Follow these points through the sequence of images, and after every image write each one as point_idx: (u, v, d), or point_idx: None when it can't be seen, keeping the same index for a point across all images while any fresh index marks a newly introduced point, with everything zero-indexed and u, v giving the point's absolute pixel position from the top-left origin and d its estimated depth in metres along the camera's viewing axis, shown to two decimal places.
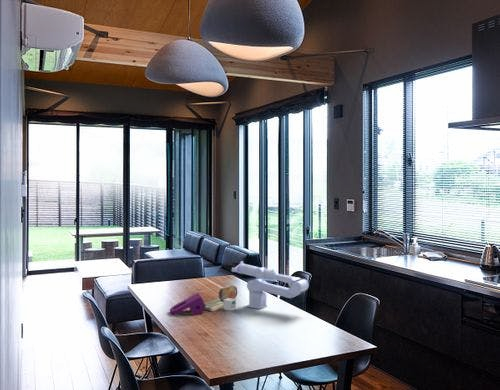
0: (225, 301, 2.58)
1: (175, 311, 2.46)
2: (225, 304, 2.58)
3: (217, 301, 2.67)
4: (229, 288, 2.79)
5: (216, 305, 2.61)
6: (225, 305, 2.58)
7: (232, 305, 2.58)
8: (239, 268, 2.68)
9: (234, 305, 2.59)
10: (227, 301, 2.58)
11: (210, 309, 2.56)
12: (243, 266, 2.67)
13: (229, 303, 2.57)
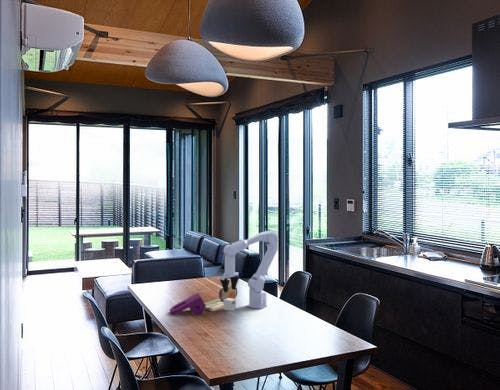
0: (225, 301, 2.58)
1: (175, 311, 2.46)
2: (225, 304, 2.58)
3: (217, 301, 2.67)
4: (229, 288, 2.79)
5: (216, 305, 2.61)
6: (225, 305, 2.58)
7: (232, 305, 2.58)
8: (226, 274, 2.57)
9: (234, 305, 2.59)
10: (227, 301, 2.58)
11: (210, 309, 2.56)
12: None
13: (229, 303, 2.57)
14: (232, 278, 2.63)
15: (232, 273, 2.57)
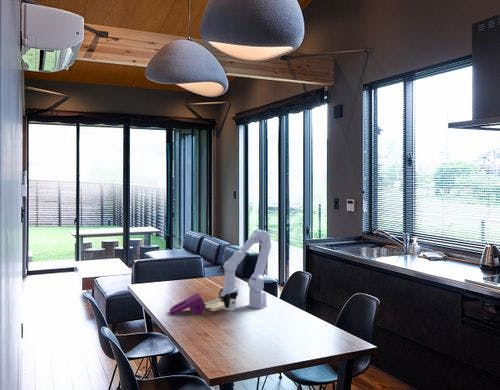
0: None
1: (175, 311, 2.46)
2: None
3: (217, 301, 2.67)
4: None
5: (216, 305, 2.61)
6: None
7: (232, 305, 2.58)
8: (226, 290, 2.57)
9: (234, 305, 2.59)
10: None
11: (210, 309, 2.56)
12: None
13: (229, 303, 2.57)
14: (231, 294, 2.62)
15: (232, 289, 2.57)
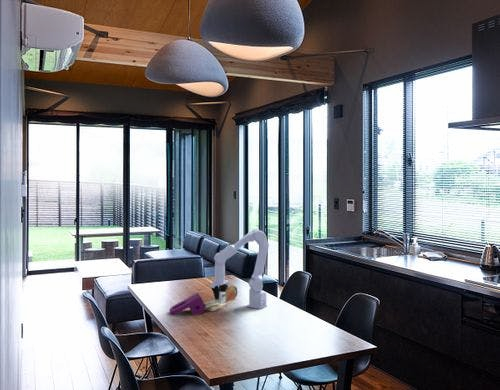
0: None
1: (175, 311, 2.46)
2: None
3: None
4: (229, 288, 2.79)
5: (216, 305, 2.61)
6: None
7: (222, 298, 2.59)
8: (216, 282, 2.58)
9: (224, 298, 2.60)
10: None
11: (210, 309, 2.56)
12: None
13: (219, 296, 2.58)
14: (221, 286, 2.63)
15: (222, 281, 2.58)
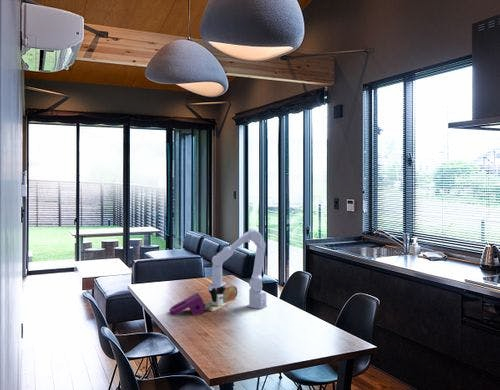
0: None
1: (175, 311, 2.46)
2: None
3: None
4: (229, 288, 2.79)
5: None
6: None
7: (219, 300, 2.60)
8: (213, 284, 2.59)
9: (222, 300, 2.62)
10: None
11: (210, 309, 2.56)
12: (212, 280, 2.61)
13: None
14: (218, 289, 2.64)
15: (219, 283, 2.59)
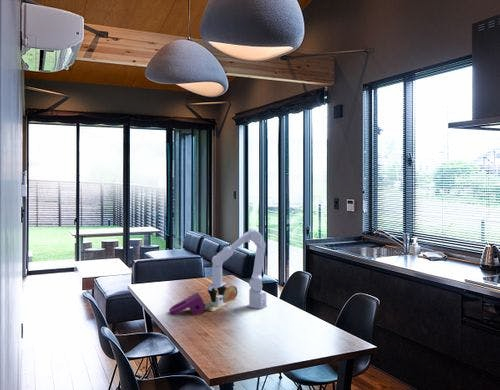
0: None
1: (175, 311, 2.46)
2: None
3: None
4: (229, 288, 2.79)
5: None
6: None
7: (219, 301, 2.60)
8: (213, 284, 2.59)
9: (221, 301, 2.62)
10: None
11: (210, 309, 2.56)
12: (212, 280, 2.61)
13: (216, 299, 2.59)
14: (219, 288, 2.65)
15: (219, 283, 2.59)
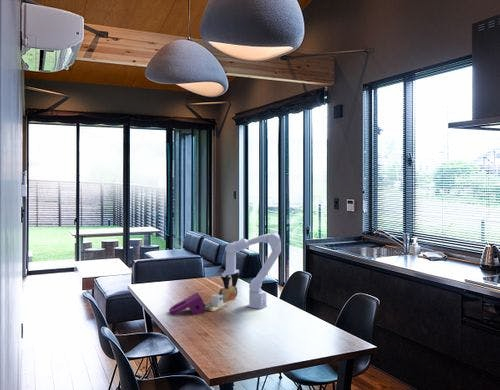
0: (213, 297, 2.61)
1: (175, 311, 2.46)
2: (213, 300, 2.61)
3: None
4: (229, 288, 2.79)
5: None
6: (212, 301, 2.61)
7: (219, 301, 2.60)
8: (227, 271, 2.65)
9: (221, 301, 2.62)
10: (214, 297, 2.60)
11: (210, 309, 2.56)
12: (226, 267, 2.66)
13: (216, 299, 2.59)
14: (233, 275, 2.71)
15: (233, 270, 2.65)
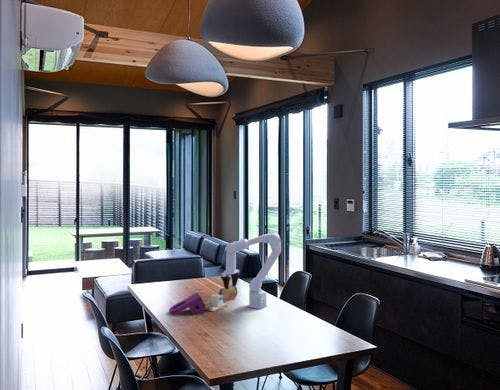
0: (213, 297, 2.61)
1: (175, 311, 2.46)
2: (213, 300, 2.61)
3: None
4: (229, 288, 2.79)
5: None
6: (212, 301, 2.61)
7: (219, 301, 2.60)
8: (227, 271, 2.65)
9: (221, 301, 2.62)
10: (214, 297, 2.60)
11: (210, 309, 2.56)
12: (226, 267, 2.66)
13: (216, 299, 2.59)
14: (233, 275, 2.71)
15: (233, 270, 2.65)
